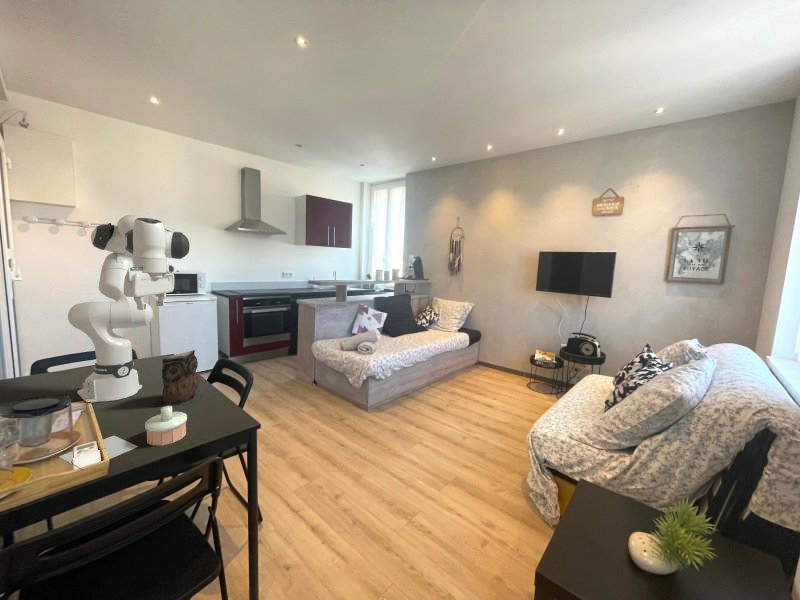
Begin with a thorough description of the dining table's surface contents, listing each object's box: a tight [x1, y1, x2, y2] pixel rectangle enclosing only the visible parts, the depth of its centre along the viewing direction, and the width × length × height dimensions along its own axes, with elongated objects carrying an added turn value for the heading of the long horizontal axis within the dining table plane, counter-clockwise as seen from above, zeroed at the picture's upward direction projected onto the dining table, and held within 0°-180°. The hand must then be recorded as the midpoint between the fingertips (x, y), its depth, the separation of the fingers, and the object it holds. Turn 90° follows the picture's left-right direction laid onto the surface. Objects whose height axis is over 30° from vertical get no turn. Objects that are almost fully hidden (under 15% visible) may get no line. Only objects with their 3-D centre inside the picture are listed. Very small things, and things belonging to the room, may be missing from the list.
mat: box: [58, 435, 139, 465], centre depth 95 cm, size 13×13×1 cm
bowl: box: [146, 421, 187, 446], centre depth 104 cm, size 10×10×5 cm
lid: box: [144, 405, 188, 432], centre depth 104 cm, size 11×11×5 cm
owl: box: [161, 349, 200, 407], centre depth 131 cm, size 13×13×20 cm
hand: (151, 307), depth 109 cm, fingers open, 8 cm apart
